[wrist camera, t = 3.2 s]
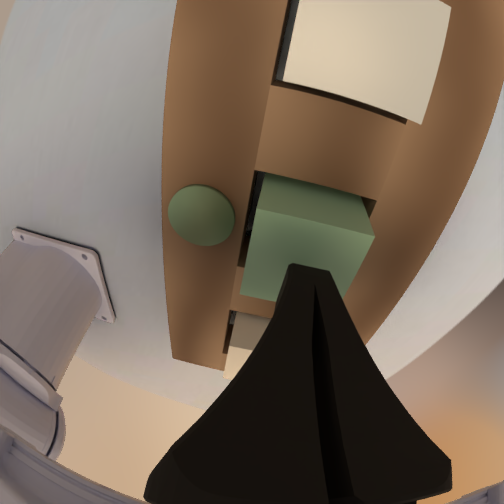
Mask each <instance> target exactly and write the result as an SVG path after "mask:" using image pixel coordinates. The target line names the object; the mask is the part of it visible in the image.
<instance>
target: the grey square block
mask: <svg viewBox="0 0 504 504" xmlns="http://www.w3.org/2000/svg"><path fill="white" fill-rule="evenodd" d="M450 12H451V7H450V6H448V5H447V4H445V3H443V2H441V1H439V0H299V5H298V10H297V15H296V19H295V24H294V29H293V34H292V38H291V43H290V48H289V53H288V58H287V62H286V67H285V72H284V77H283V81H286V82H291V83H295V84H300V85H304V86H308V87H312V88H316V89H320V90H324V91H327V92H331V93H335V94H338V95H341V96H345V97H348V98H351V99H354V100H358V101H361V102H364V103H367V104H369V105H372V106H375V107H378V108H381V109H383V110H386V111H389V112H391V113H394V114H397V115H399V116H402V117H404V118H406V119H409V120H411V121H414V122H416V123H418V124H420V125H421V124H422V121H423V118H424V115H425V112H426V109H427V106H428V102H429V99H430V96H431V92H432V89H433V86H434V82H435V79H436V75H437V71H438V67H439V64H440V60H441V55H442V51H443V47H444V43H445V38H446V33H447V28H448V23H449V18H450Z"/></svg>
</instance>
